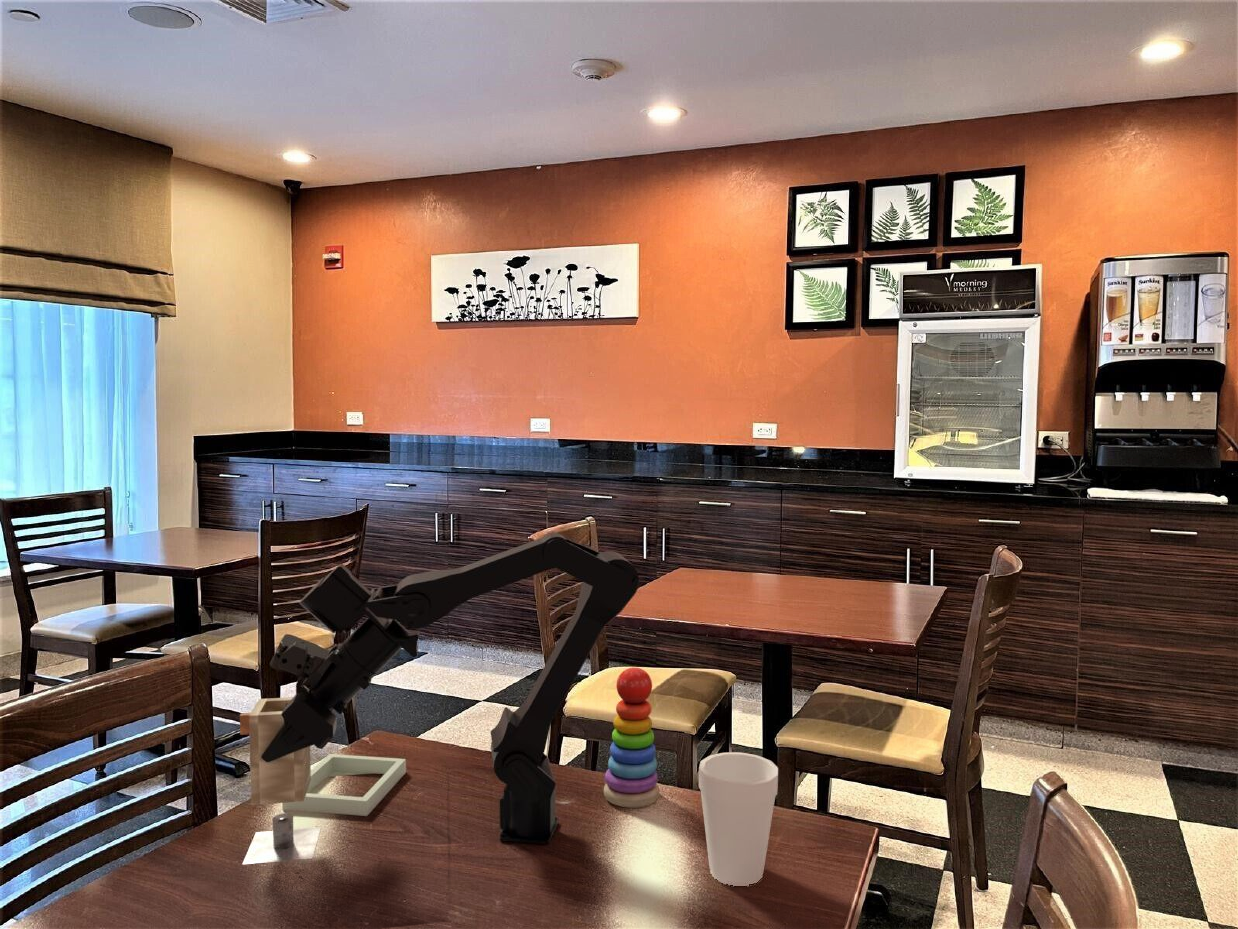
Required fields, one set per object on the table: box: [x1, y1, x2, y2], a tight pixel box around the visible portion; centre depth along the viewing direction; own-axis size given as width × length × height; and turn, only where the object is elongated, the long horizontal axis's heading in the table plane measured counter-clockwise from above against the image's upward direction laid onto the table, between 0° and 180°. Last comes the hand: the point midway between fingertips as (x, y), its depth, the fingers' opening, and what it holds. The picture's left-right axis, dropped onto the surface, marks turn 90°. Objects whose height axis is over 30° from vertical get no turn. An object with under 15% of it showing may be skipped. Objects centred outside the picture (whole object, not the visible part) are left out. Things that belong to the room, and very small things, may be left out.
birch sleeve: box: [239, 696, 312, 806], centre depth 110 cm, size 8×6×11 cm
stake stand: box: [241, 812, 322, 866], centre depth 111 cm, size 8×8×4 cm
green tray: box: [281, 753, 407, 817], centre depth 127 cm, size 12×14×3 cm
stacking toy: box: [603, 667, 661, 809], centre depth 127 cm, size 8×8×19 cm
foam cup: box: [698, 752, 779, 887], centre depth 107 cm, size 10×9×13 cm
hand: (269, 749), depth 110 cm, fingers closed on birch sleeve, 6 cm apart
